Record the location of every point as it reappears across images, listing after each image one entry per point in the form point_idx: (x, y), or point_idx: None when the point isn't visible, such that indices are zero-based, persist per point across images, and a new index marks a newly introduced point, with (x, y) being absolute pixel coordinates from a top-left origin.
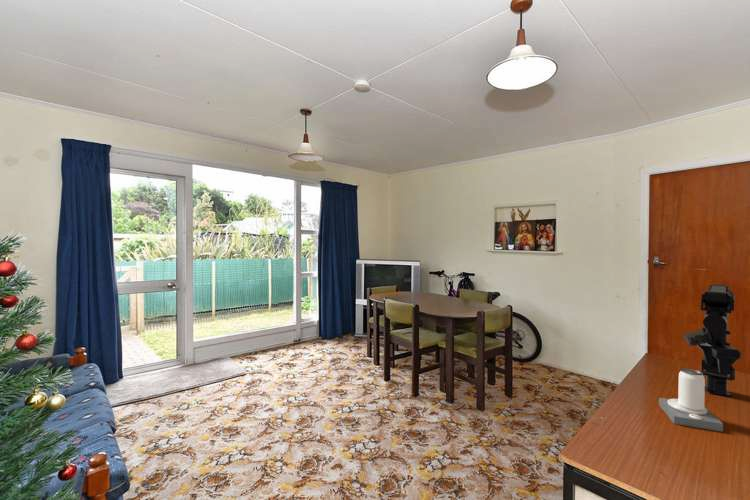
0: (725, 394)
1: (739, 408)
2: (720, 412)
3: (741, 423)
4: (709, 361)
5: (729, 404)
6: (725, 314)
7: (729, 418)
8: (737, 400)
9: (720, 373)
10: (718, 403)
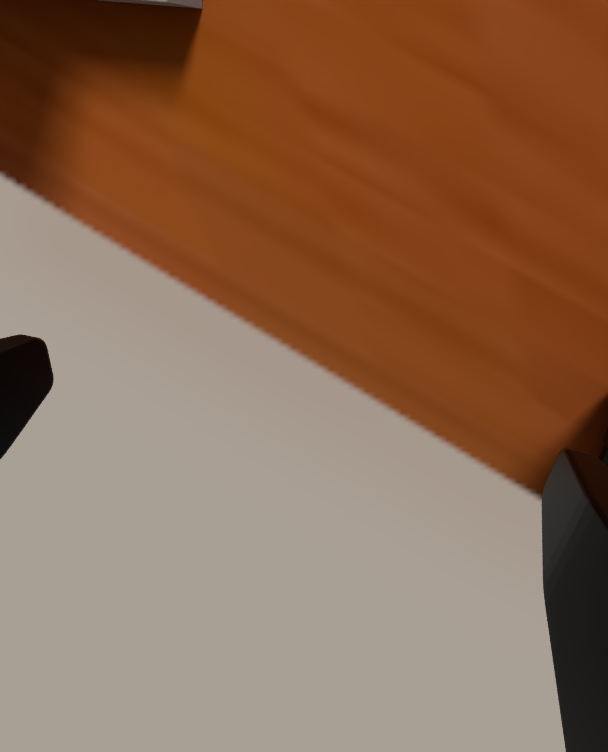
0: (605, 436)
1: (363, 371)
2: (235, 179)
3: (94, 221)
4: (560, 542)
5: (427, 350)
6: None
7: (143, 184)
8: (521, 454)
9: (11, 339)
10: (430, 276)
